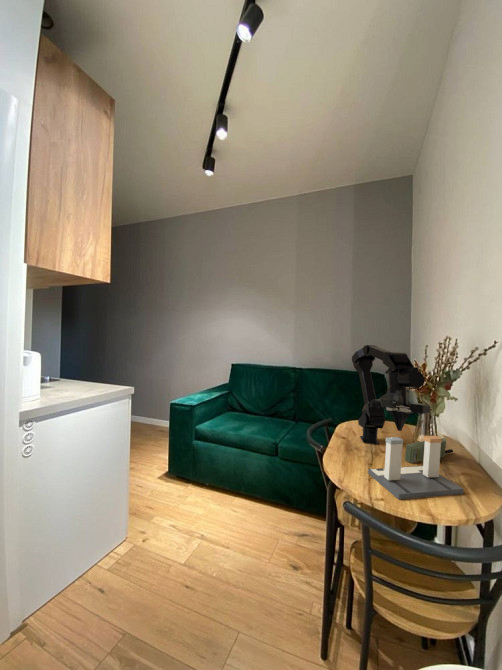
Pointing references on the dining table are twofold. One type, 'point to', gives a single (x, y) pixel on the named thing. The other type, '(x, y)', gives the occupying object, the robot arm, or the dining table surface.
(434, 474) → the lever
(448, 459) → the dining table surface
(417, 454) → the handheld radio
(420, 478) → the switch bank
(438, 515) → the dining table surface
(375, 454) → the dining table surface
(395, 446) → the lever
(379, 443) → the robot arm
